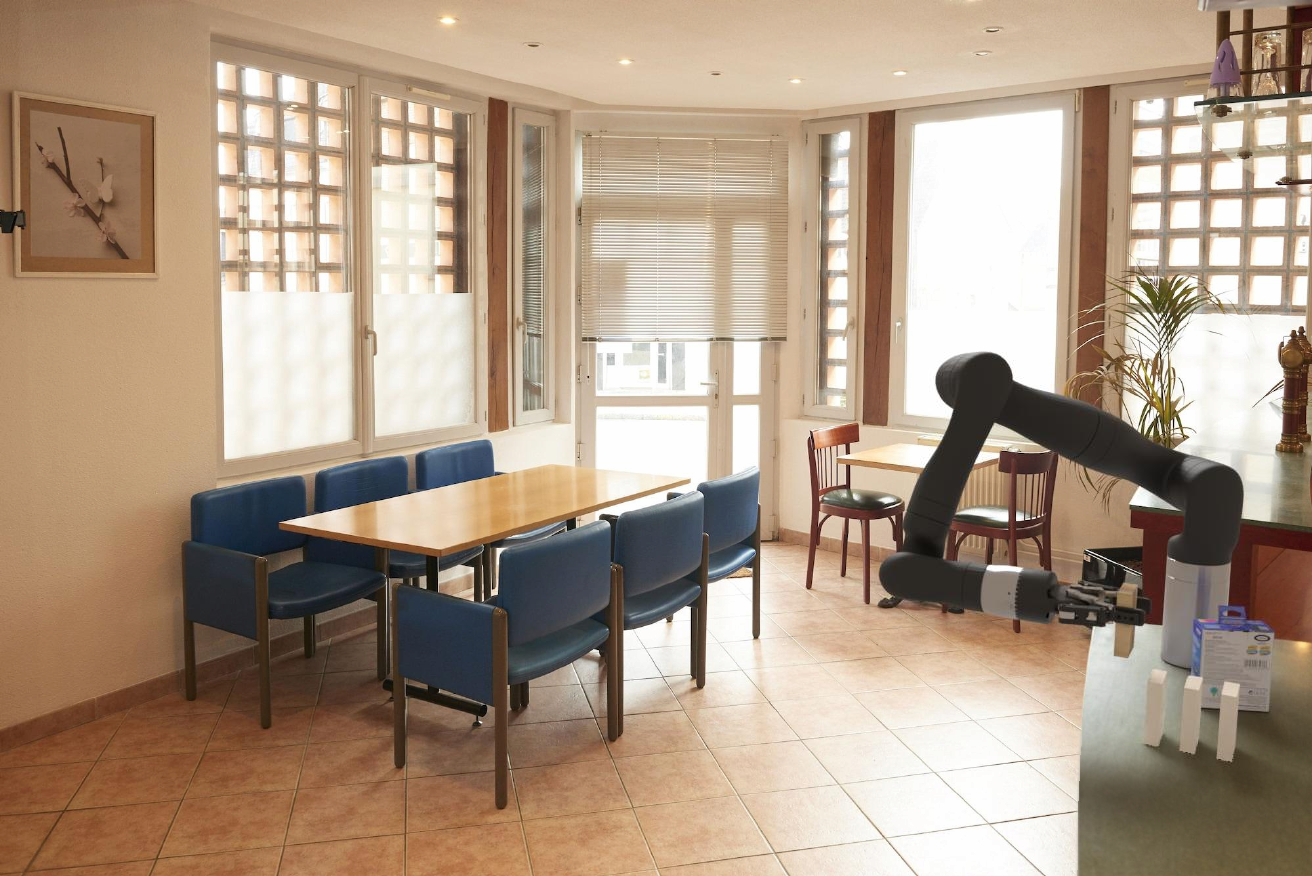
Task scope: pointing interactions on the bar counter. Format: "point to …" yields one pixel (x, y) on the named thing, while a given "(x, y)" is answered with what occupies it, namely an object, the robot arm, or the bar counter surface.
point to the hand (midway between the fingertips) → (1147, 612)
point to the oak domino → (1125, 631)
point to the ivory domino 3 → (1228, 721)
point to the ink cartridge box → (1233, 658)
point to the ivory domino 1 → (1155, 707)
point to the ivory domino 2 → (1191, 714)
